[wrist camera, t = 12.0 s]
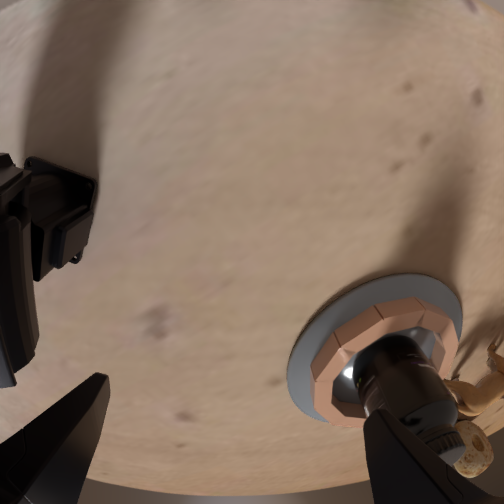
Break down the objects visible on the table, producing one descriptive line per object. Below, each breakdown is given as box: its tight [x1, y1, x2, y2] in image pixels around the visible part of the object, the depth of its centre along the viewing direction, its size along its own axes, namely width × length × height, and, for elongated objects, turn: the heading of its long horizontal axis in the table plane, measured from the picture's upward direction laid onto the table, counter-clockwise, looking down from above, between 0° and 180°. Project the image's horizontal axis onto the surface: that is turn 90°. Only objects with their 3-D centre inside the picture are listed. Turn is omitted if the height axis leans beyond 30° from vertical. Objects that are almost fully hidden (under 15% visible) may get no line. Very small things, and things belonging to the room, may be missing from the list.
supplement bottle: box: [352, 335, 466, 466], centre depth 19 cm, size 7×7×12 cm
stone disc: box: [454, 420, 493, 478], centre depth 29 cm, size 10×4×10 cm, turn 68°
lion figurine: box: [443, 344, 504, 416], centre depth 23 cm, size 15×5×9 cm, turn 113°
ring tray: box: [287, 273, 462, 428], centre depth 24 cm, size 18×18×3 cm
